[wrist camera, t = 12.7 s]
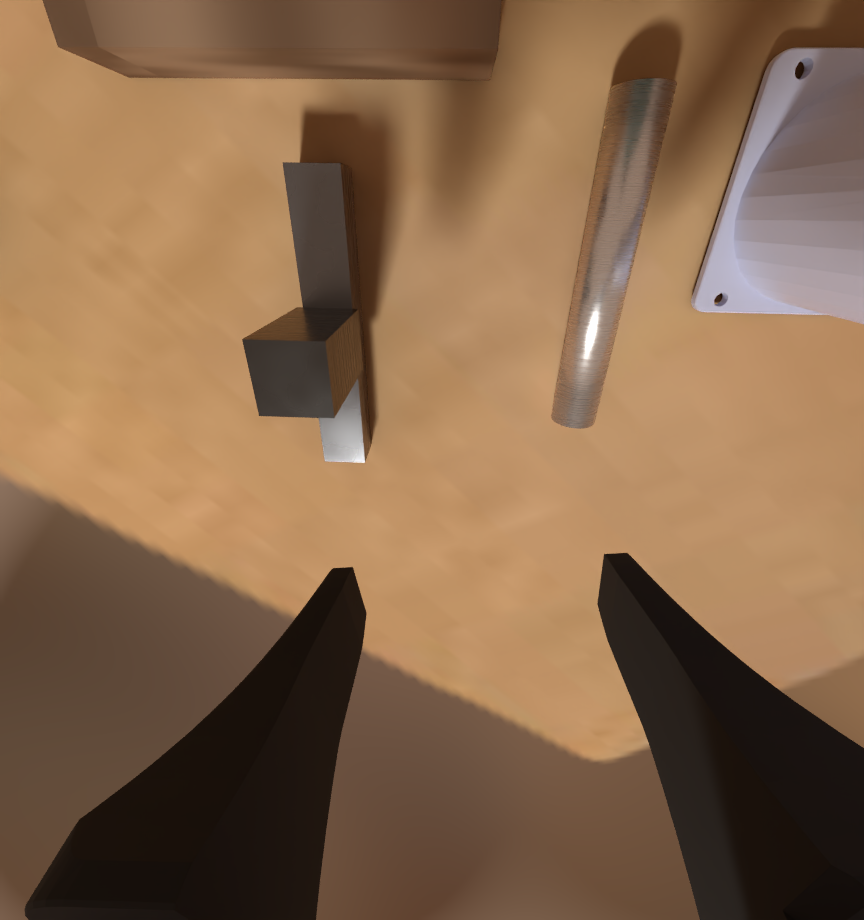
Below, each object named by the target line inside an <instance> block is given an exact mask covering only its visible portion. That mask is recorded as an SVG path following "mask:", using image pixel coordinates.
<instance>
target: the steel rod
mask: <svg viewBox="0 0 864 920" xmlns="http://www.w3.org/2000/svg"><path fill="white" fill-rule="evenodd" d="M676 86H677V82H675V81H673V80H670V79H662V78H647V79H637V80H631V81H626V82H622V83H619V84H616V85H614V86H613V87H612V88H611V89H610V95H609V100H608V106H607V111H606V117H605V122H604V128H603V134H602V139H601V145H600V150H599V156H598V161H597V167H596V172H595V178H594V183H593V189H592V194H591V200H590V205H589V211H588V216H587V222H586V227H585V233H584V238H583V244H582V249H581V255H580V260H579V266H578V271H577V277H576V282H575V288H574V293H573V299H572V304H571V310H570V315H569V321H568V326H567V332H566V337H565V343H564V348H563V354H562V359H561V365H560V370H559V376H558V381H557V387H556V392H555V398H554V403H553V409H552V414H551V418H552V420H553V421H554V422H556V423H558V424H560V425H563V426H566V427H571V428H587V427H591V426H592V425H593V424H594V422H595V418H596V414H597V410H598V406H599V402H600V398H601V394H602V390H603V385H604V381H605V377H606V373H607V369H608V365H609V361H610V357H611V353H612V349H613V344H614V340H615V336H616V332H617V328H618V324H619V320H620V316H621V312H622V308H623V303H624V299H625V295H626V291H627V287H628V283H629V279H630V275H631V271H632V267H633V262H634V258H635V254H636V250H637V246H638V242H639V238H640V234H641V230H642V226H643V221H644V217H645V213H646V209H647V205H648V201H649V197H650V193H651V189H652V185H653V180H654V176H655V172H656V168H657V164H658V160H659V156H660V152H661V148H662V144H663V140H664V135H665V131H666V127H667V123H668V119H669V115H670V111H671V107H672V103H673V99H674V94H675V90H676Z"/></svg>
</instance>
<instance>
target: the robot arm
mask: <svg viewBox="0 0 864 920" xmlns="http://www.w3.org/2000/svg"><path fill="white" fill-rule="evenodd" d="M799 62H802V63H803V65H804V72H803V74H802V76H801V78H800V79H797V78H796V76H795V68H796V67H797V65H798V63H799ZM720 293H722V295H723V296H722V299H721V301H720V302H719V303H718V304H714V299H715V298H716V296H717V295H719V294H720ZM691 303H692V306H693V308H694V309H696V310H698V311H702V312H725V313H766V314H808V315H831V316H834V317H838V318H842V319H846V320H850V321H854V322H857V323H861V324H864V48H790V49H787V50H785V51H783V52H781V53H780V54H778V55H777V56H775V57H774V58H773V59H772V61H771V62H770V63H769V64H768V67H767V69H766V71H765V73H764V76H763V80H762V83H761V86H760V89H759V92H758V95H757V98H756V101H755V104H754V107H753V110H752V114H751V117H750V120H749V123H748V126H747V129H746V132H745V135H744V138H743V141H742V144H741V148H740V151H739V154H738V157H737V160H736V163H735V166H734V169H733V172H732V175H731V178H730V182H729V185H728V188H727V191H726V194H725V197H724V200H723V203H722V206H721V209H720V213H719V216H718V219H717V222H716V225H715V228H714V231H713V234H712V237H711V240H710V243H709V247H708V250H707V253H706V256H705V259H704V262H703V265H702V268H701V271H700V274H699V277H698V281H697V284H696V287H695V290H694V293H693V296H692V301H691ZM598 608H599V611H600V615H601V619H602V622H603V626H604V629H605V633H606V636H607V640H608V642H609V645H610V647H611V650H612V652H613V655H614V657H615V660H616V662H617V665H618V667H619V670H620V672H621V674H622V677H623V679H624V682H625V684H626V687H627V689H628V691H629V694H630V696H631V699H632V701H633V704H634V706H635V709H636V711H637V713H638V716H639V718H640V721H641V723H642V726H643V728H644V731H645V734H646V737H647V739H648V742H649V745H650V748H651V751H652V754H653V758H654V761H655V764H656V767H657V770H658V774H659V777H660V780H661V783H662V786H663V789H664V793H665V796H666V799H667V803H668V806H669V810H670V813H671V817H672V820H673V823H674V827H675V830H676V833H677V837H678V840H679V844H680V848H681V851H682V855H683V859H684V862H685V866H686V869H687V873H688V876H689V880H690V884H691V887H692V891H693V895H694V899H695V902H696V906H697V910H698V914H699V917H700V920H864V748H863V747H861V746H860V745H858V744H856V743H855V742H853V741H852V740H850V739H849V738H847V737H846V736H844V735H843V734H841V733H840V732H838V731H837V730H835V729H834V728H833V727H831V726H829V725H828V724H827V723H825V722H824V721H822V720H821V719H819V718H818V717H816V716H815V715H814V714H812V713H811V712H809V711H808V710H806V709H805V708H804V707H802V706H801V705H799V704H798V703H796V702H794V701H793V700H792V699H791V698H789V697H788V696H787V695H785V694H784V693H782V692H781V691H780V690H778V689H777V688H776V687H774V686H773V685H772V684H770V683H769V682H768V681H767V680H765V679H764V678H763V677H761V676H760V675H759V674H758V673H756V672H755V671H754V670H752V669H751V668H750V667H749V666H747V665H746V664H745V663H744V662H742V661H741V660H740V659H739V658H738V657H736V656H735V655H734V654H733V653H732V652H730V651H729V650H728V649H727V648H726V647H725V646H723V645H722V644H721V643H720V642H719V641H718V640H717V639H715V638H714V637H713V636H712V635H711V634H710V633H708V632H707V631H706V630H705V629H704V628H703V627H702V626H701V625H700V624H699V623H697V622H696V621H695V620H694V619H693V618H692V617H691V616H690V615H689V614H688V613H687V612H686V611H685V610H684V609H683V608H682V607H680V606H679V605H678V604H677V603H676V602H675V601H674V600H673V599H672V598H671V597H670V596H669V595H668V594H667V593H666V592H665V591H664V590H663V589H662V588H661V587H660V586H659V585H658V584H657V583H656V582H655V581H654V580H653V579H652V578H651V577H650V576H649V575H648V574H647V573H646V572H645V571H644V570H643V568H642V567H641V566H640V565H639V564H638V563H637V562H636V561H635V560H634V559H633V558H632V557H631V556H630V555H629V554H628V553H617V554H604V560H603V567H602V574H601V582H600V589H599V597H598ZM365 621H366V610H365V607H364V603H363V600H362V597H361V593H360V590H359V587H358V583H357V580H356V576H355V573H354V570H353V567H348V568H333V569H332V570H331V571H330V572H329V574H328V575H327V576H326V578H325V579H324V580H323V582H322V583H321V585H320V586H319V587H318V589H317V590H316V592H315V593H314V594H313V596H312V597H311V598H310V600H309V601H308V603H307V604H306V605H305V607H304V608H303V609H302V611H301V612H300V613H299V614H298V616H297V617H296V618H295V620H294V621H293V622H292V624H291V625H290V626H289V627H288V629H287V630H286V631H285V633H284V634H283V635H282V636H281V638H280V639H279V640H278V641H277V642H276V643H275V645H274V646H273V647H272V648H271V650H269V652H268V653H267V654H266V655H265V656H264V658H263V659H262V660H261V661H260V662H259V663H258V664H257V666H256V667H255V668H254V669H253V670H252V671H251V672H250V673H249V674H248V675H247V677H246V678H245V679H244V680H243V681H242V682H241V683H240V684H239V685H238V686H237V687H236V688H235V689H234V690H233V691H232V692H231V693H230V694H229V695H228V696H227V697H226V698H225V699H224V700H223V701H222V702H221V703H220V704H219V705H218V706H217V707H216V708H215V709H214V710H213V711H212V712H211V713H210V714H209V715H208V716H207V717H205V718H204V719H203V720H202V721H201V722H200V723H199V724H198V725H197V726H196V727H195V728H194V729H193V730H192V731H190V732H189V733H188V734H187V735H186V736H185V737H183V738H182V739H181V740H180V741H179V742H178V743H176V744H175V745H174V746H173V747H172V748H171V749H169V750H168V751H167V752H166V753H165V754H164V755H162V756H161V757H160V758H159V759H158V760H156V761H155V762H154V763H153V764H152V765H150V766H149V767H148V768H147V769H145V770H144V771H143V772H142V773H140V774H139V775H138V776H137V777H135V778H134V779H133V780H131V781H130V782H129V783H128V784H126V785H125V786H124V787H122V788H121V789H120V790H118V791H117V792H116V793H115V794H113V795H112V796H110V797H109V798H108V799H106V800H105V801H104V802H102V803H101V804H100V805H99V806H97V807H96V808H95V809H93V810H92V811H91V812H89V813H88V814H87V815H85V816H84V817H82V818H81V819H80V820H79V821H78V823H77V824H76V826H75V827H74V829H73V830H72V832H71V833H70V835H69V836H68V838H67V839H66V841H65V843H64V844H63V846H62V847H61V849H60V851H59V852H58V854H57V855H56V857H55V859H54V860H53V862H52V864H51V865H50V867H49V868H48V870H47V872H46V873H45V875H44V876H43V878H42V880H41V881H40V883H39V885H38V886H37V888H36V890H35V891H34V893H33V894H32V896H31V897H30V899H29V901H28V902H27V904H26V906H25V916H26V917H27V918H28V919H29V920H316V912H317V902H318V893H319V884H320V875H321V867H322V858H323V851H324V843H325V834H326V826H327V819H328V812H329V806H330V799H331V791H332V784H333V778H334V772H335V766H336V759H337V753H338V747H339V742H340V737H341V731H342V727H343V723H344V719H345V715H346V711H347V707H348V703H349V699H350V695H351V691H352V687H353V683H354V679H355V675H356V671H357V667H358V663H359V659H360V655H361V650H362V645H363V638H364V630H365Z"/></svg>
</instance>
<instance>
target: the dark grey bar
mask: <svg viewBox="0 0 864 920" xmlns="http://www.w3.org/2000/svg"><path fill="white" fill-rule="evenodd" d="M283 168H284V175H285V183H286V190H287V197H288V204H289V211H290V218H291V225H292V232H293V239H294V246H295V253H296V261H297V268H298V275H299V282H300V289H301V296H302V303H303V308H298V307H297V308H295V309H294V310H292V311H290V312H288V313H287V314H285V315H283V316H282V317H280V318H278V319H276V320H275V321H273V322H271V323H270V324H268V325H266V326H264V327H263V328H261V329H259V330H257V331H256V332H254V333H252V334H251V335H249V336H247V337H245V338H244V339H242V340H243V345H244V349H245V354H246V358H247V363H248V367H249V372H250V376H251V381H252V385H253V390H254V394H255V399H256V403H257V408H258V412H259V416H279V417H310V418H319V424H320V431H321V438H322V445H323V452H324V459H325V461H331V462H360V463H365V461H366V458H367V455H368V453H369V450H370V447H371V436H370V422H369V408H368V394H367V380H366V366H365V351H364V337H363V323H362V309H361V295H360V281H359V267H358V253H357V239H356V224H355V210H354V196H353V182H352V169H351V168H349V167H347V166H345V165H343V164H341V163H284V162H283Z"/></svg>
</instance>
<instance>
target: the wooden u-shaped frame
mask: <svg viewBox="0 0 864 920" xmlns="http://www.w3.org/2000/svg"><path fill="white" fill-rule="evenodd" d="M43 3H44V6H45V9H46V12H47V15H48V18H49V21H50V24H51V27H52V30H53V33H54V36H55V39H56V42H57V45H58V47H60V48H62V49H64V50H66V51H69V52H71V53H73V54H76V55H78V56H80V57H83V58H85V59H87V60H90V61H92V62H94V63H97V64H99V65H101V66H104V67H106V68H108V69H111V70H113V71H115V72H117V73H120V74H122V75H124V76H127V77H139V78H277V79H415V80H490V77H491V73H492V69H493V66H494V62H495V58H496V55H497V51H498V42H499V28H500V14H501V0H43Z"/></svg>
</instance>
